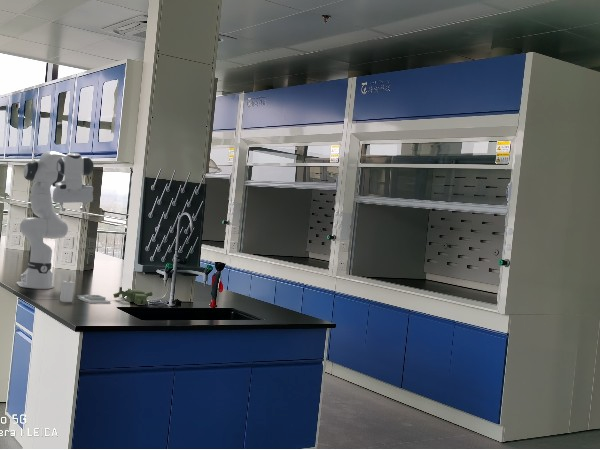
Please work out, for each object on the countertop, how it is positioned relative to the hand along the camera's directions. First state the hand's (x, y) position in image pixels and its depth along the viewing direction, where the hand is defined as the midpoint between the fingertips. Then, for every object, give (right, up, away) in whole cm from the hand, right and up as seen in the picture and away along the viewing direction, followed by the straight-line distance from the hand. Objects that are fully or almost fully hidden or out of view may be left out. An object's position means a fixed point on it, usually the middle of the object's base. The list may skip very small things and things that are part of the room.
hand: (72, 210), depth 359 cm
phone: (+7, -47, +6) cm, 48 cm away
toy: (+29, -50, +14) cm, 59 cm away
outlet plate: (+12, -48, -1) cm, 49 cm away
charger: (0, -46, -12) cm, 48 cm away
